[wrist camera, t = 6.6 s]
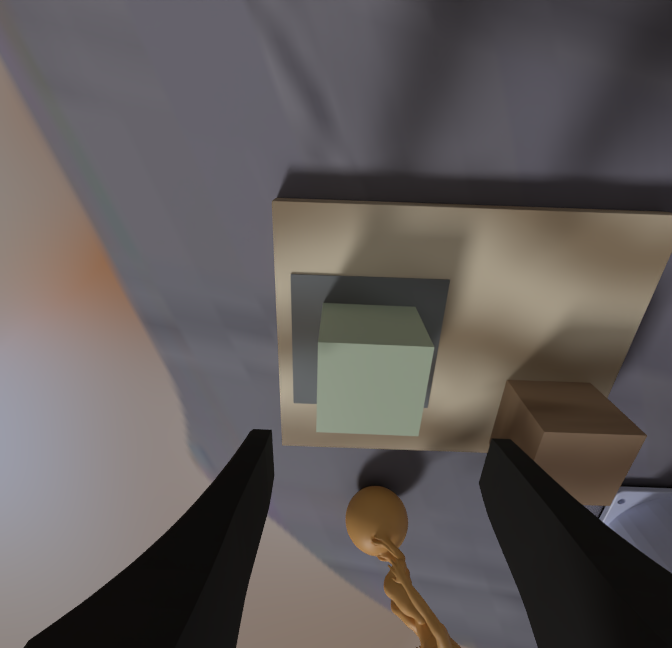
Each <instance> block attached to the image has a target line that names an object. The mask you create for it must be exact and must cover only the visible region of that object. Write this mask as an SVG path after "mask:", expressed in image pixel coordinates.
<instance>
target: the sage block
mask: <svg viewBox="0 0 672 648" xmlns="http://www.w3.org/2000/svg"><path fill="white" fill-rule="evenodd" d="M433 352H434V345H433V343H432V341H431V339H430V337H429V334H428V332H427V330H426V328H425V326H424V324H423V322H422V320H421V317H420V315H419V313H418V311H417V309H416V307H409V306H385V305H361V304H338V303H323V307H322V315H321V323H320V331H319V338H318V368H317V418H316V432H326V433H350V434H374V435H398V436H419V430H420V424H421V419H422V413H423V408H424V402H425V397H426V391H427V386H428V380H429V374H430V369H431V363H432V358H433Z"/></svg>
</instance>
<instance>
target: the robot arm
mask: <svg viewBox="0 0 672 648" xmlns="http://www.w3.org/2000/svg"><path fill="white" fill-rule="evenodd" d="M273 480H274V462H273V444H272V430H261V429H253V430H252V431H250V433H249V434H248V436H247V437H246V439H245V440H244V442H243V443H242V444H241V446H240V447H239V449H238V450H237V451H236V453H235V454H234V456H233V457H232V458H231V460H230V461H229V462H228V463H227V465H226V466H225V467H224V469H223V470H222V471H221V472H220V474H219V475H218V476H217V477H216V479H215V480H214V481H213V482H212V483H211V485H210V486H209V487H208V488H207V489H206V490H205V492H204V493H203V494H202V495H201V496H200V497H199V499H197V501H196V502H195V503H194V504H193V505H192V506H191V507H190V508H189V509H188V510H187V512H186V513H185V514H184V515H183V516H182V517H181V518H180V519H179V520H178V521H177V522H176V523H175V524H174V525H173V526H172V527H171V528H170V529H169V530H168V531H167V532H166V533H165V534H164V535H163V536H161V537H160V538H159V539H158V540H157V541H156V542H155V543H154V544H153V545H152V546H151V547H150V548H148V549H147V550H146V551H145V552H144V553H143V554H142V555H141V556H139V557H138V558H137V559H136V560H135V561H134V562H132V563H131V564H130V565H129V566H128V567H127V568H125V569H124V570H123V571H122V572H120V573H119V574H118V575H117V576H115V577H114V578H113V579H112V580H110V581H109V582H108V583H107V584H105V585H104V586H103V587H102V588H100V589H99V590H98V591H97V592H95V593H94V594H93V595H92V596H90V597H89V598H88V599H86V600H85V601H84V602H82V603H81V604H80V605H78V606H77V607H75V608H74V609H73V610H71V611H70V612H68V613H67V614H66V615H64V616H63V617H61V618H60V619H59V620H57V621H56V622H54V623H53V624H52V625H50V626H49V627H47V628H46V629H45V630H43V631H42V632H40V633H39V634H37V635H36V636H34V637H33V638H32V639H30V640H29V641H28V642H27V644H26V645H25V647H24V648H236V645H237V639H238V634H239V628H240V623H241V617H242V612H243V607H244V601H245V596H246V592H247V588H248V584H249V579H250V575H251V572H252V568H253V564H254V561H255V557H256V554H257V550H258V546H259V543H260V539H261V535H262V532H263V528H264V524H265V521H266V517H267V513H268V509H269V505H270V499H271V493H272V487H273ZM479 485H480V489H481V493H482V497H483V501H484V504H485V507H486V511H487V514H488V517H489V519H490V522H491V525H492V527H493V529H494V532H495V534H496V537H497V539H498V542H499V544H500V547H501V549H502V551H503V554H504V556H505V559H506V561H507V563H508V566H509V568H510V571H511V573H512V575H513V578H514V580H515V583H516V585H517V587H518V590H519V592H520V595H521V598H522V600H523V603H524V606H525V609H526V612H527V615H528V618H529V621H530V624H531V627H532V630H533V634H534V637H535V640H536V643H537V646H538V648H672V488H649V487H620V488H619V490H618V492H617V494H616V496H615V497H614V499H613V501H612V503H611V505H610V506H605V508H604V510H603V512H602V514H601V516H600V518H597V517H596V516H595V515H594V514H593V513H591V512H590V511H589V510H588V509H587V508H585V507H584V506H583V505H582V504H581V503H580V502H578V501H577V500H576V499H575V498H574V497H573V496H572V495H570V494H569V493H568V492H567V491H566V490H565V489H564V488H563V487H562V486H560V485H559V484H558V483H557V482H556V481H555V480H554V479H553V478H552V477H551V476H550V475H548V474H547V473H546V472H545V471H544V470H543V469H542V468H541V467H540V466H539V465H538V464H537V463H536V462H535V461H534V460H533V459H531V458H530V457H529V456H528V455H527V454H526V453H525V452H524V451H523V450H522V449H521V448H520V447H519V446H518V445H517V444H515V443H514V442H513V441H512V440H511V439H497V438H492V439H491V442H490V446H489V449H488V453H487V456H486V460H485V463H484V467H483V470H482V474H481V477H480V481H479Z"/></svg>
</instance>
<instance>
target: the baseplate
mask: <svg viewBox="0 0 672 648" xmlns="http://www.w3.org/2000/svg"><path fill="white" fill-rule="evenodd" d="M272 216H273V240H274V263H275V286H276V310H277V333H278V356H279V380H280V403H281V426H282V445H288V446H315V447H343V448H371V449H399V450H427V451H454V452H482V453H488V449H489V446H490V445H489V441H490V437H491V433H492V430H493V426H494V423H495V419H496V416H497V412H498V409H499V405H500V402H501V398H502V395H503V391H504V388H505V384H506V381H507V380H528V381H555V382H583V383H591V384H592V385H593V386H594V387H596V388H597V389H598V390H599V391H600V392H601V393H602V394H603V395H604V396H605V397H606V398H608V395H609V393H610V391H611V388H612V386H613V384H614V382H615V379H616V377H617V375H618V373H619V370H620V368H621V366H622V364H623V361H624V359H625V357H626V354H627V352H628V350H629V348H630V345H631V343H632V341H633V339H634V336H635V334H636V332H637V329H638V327H639V325H640V323H641V320H642V318H643V316H644V314H645V311H646V309H647V307H648V304H649V302H650V300H651V298H652V295H653V293H654V291H655V289H656V286H657V284H658V282H659V279H660V277H661V275H662V273H663V270H664V268H665V266H666V264H667V261H668V259H669V257H670V254H671V252H672V213H670V212H661V211H633V210H605V209H577V208H549V207H521V206H493V205H465V204H437V203H409V202H381V201H353V200H325V199H296V198H275V199H274V200H273V201H272ZM323 303H338V304H361V305H385V306H409V307H416V309H417V311H418V313H419V315H420V317H421V320H422V322H423V324H424V326H425V328H426V330H427V332H428V334H429V337H430V339H431V341H432V343H433V345H434V352H433V358H432V363H431V369H430V374H429V380H428V386H427V391H426V397H425V402H424V408H423V413H422V419H421V424H420V430H419V436H398V435H374V434H350V433H326V432H316V418H317V368H318V338H319V331H320V323H321V315H322V307H323Z"/></svg>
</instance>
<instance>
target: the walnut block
mask: <svg viewBox="0 0 672 648" xmlns="http://www.w3.org/2000/svg"><path fill="white" fill-rule="evenodd" d="M646 437H647V435H646V434H645V433H644V432H643V431H642V430H640V429H639V428H638V427H637V426H636V425H635V424H634V423H633V422H632V421H631V420H630V419H629V418H628V417H627V416H625V415H624V414H623V413H622V412H621V411H620V410H619V409H618V408H617V407H616V406H615V405H614V404H613V403H612V402H610V401H609V400H608V399H607V398H606V397H605V396H604V395H603V394H602V393H601V392H600V391H599V390H598V389H597V388H596V387H594V386H593V385H592V384H591V383H583V382H555V381H528V380H507V381H506V384H505V388H504V391H503V395H502V398H501V402H500V405H499V409H498V412H497V416H496V419H495V423H494V426H493V430H492V433H491V437H490V441H489V445H490V442H491V439H492V438H497V439H511V440H512V441H513V442H514V443H515V444H517V445H518V446H519V447H520V448H521V449H522V450H523V451H524V452H525V453H526V454H527V455H528V456H529V457H530V458H531V459H533V460H534V461H535V462H536V463H537V464H538V465H539V466H540V467H541V468H542V469H543V470H544V471H545V472H546V473H547V474H548V475H550V476H551V477H552V478H553V479H554V480H555V481H556V482H557V483H558V484H559V485H560V486H562V487H563V488H564V489H565V490H566V491H567V492H568V493H569V494H570V495H572V496H573V497H574V498H575V499H576V500H577V501H578V502H580V503H581V504H582V505H599V506H610V505H611V503H612V501H613V499H614V497H615V496H616V494H617V492H618V490H619V488H620V486H621V484H622V482H623V480H624V478H625V477H626V475H627V473H628V471H629V469H630V467H631V465H632V463H633V461H634V460H635V458H636V456H637V454H638V452H639V450H640V448H641V446H642V444H643V443H644V441H645V439H646Z"/></svg>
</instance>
